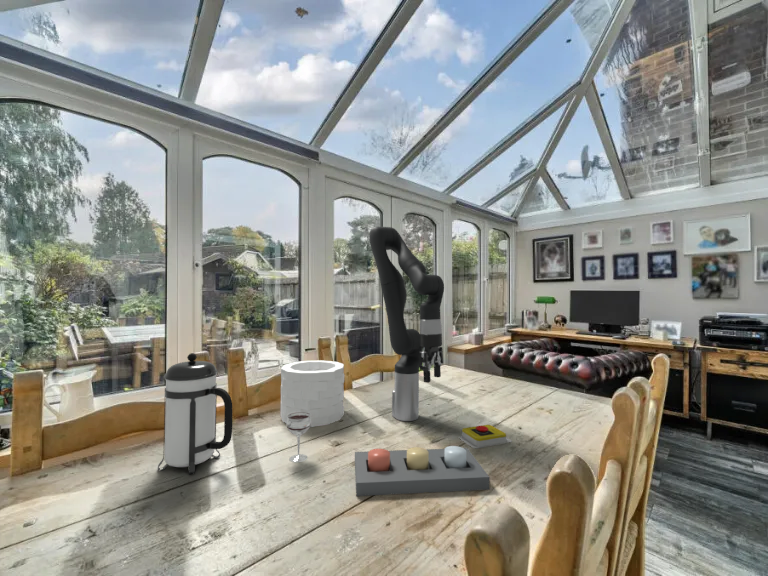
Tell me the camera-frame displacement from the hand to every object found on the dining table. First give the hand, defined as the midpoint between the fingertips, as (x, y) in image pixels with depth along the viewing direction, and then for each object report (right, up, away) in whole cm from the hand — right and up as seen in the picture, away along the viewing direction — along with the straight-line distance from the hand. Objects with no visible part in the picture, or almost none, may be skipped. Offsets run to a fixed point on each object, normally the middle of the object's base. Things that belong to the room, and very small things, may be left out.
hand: (432, 379), depth 121 cm
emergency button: (+16, -18, -7) cm, 25 cm away
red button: (-18, -15, -31) cm, 39 cm away
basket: (-44, -17, +13) cm, 49 cm away
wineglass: (-41, -17, -22) cm, 49 cm away
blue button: (+2, -15, -29) cm, 33 cm away
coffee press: (-68, -17, -25) cm, 75 cm away
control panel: (-8, -17, -30) cm, 35 cm away
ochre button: (-8, -15, -30) cm, 35 cm away
